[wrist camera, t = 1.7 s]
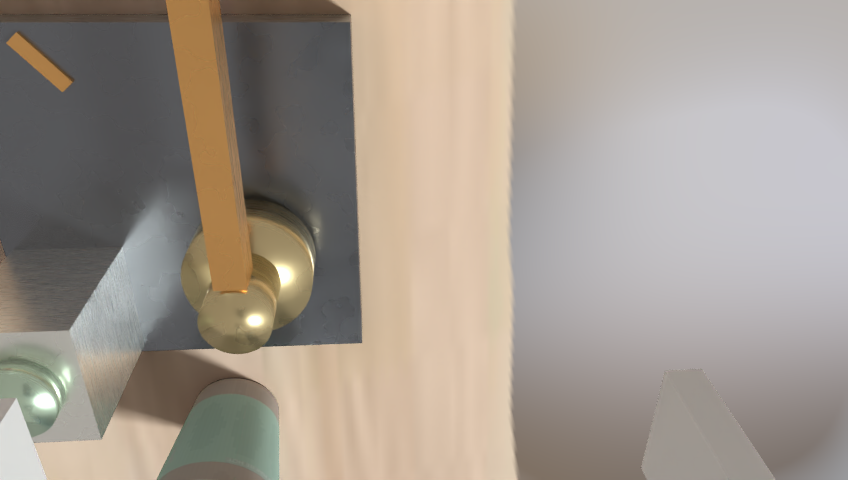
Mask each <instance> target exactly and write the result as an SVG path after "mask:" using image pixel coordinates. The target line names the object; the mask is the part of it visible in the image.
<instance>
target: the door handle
mask: <svg viewBox="0 0 848 480" xmlns="http://www.w3.org/2000/svg"><path fill="white" fill-rule="evenodd" d="M166 6H167V12H168V18H169V24H170V31H171V37H172V43H173V49H174V55H175V61H176V67H177V73H178V80H179V86H180V92H181V98H182V104H183V110H184V116H185V123H186V129H187V135H188V141H189V147H190V153H191V159H192V165H193V172H194V178H195V184H196V190H197V196H198V202H199V208H200V215H201V221H202V222H201V223H200V225H199V227H198V228H197V230H196V233H195V235H194V237H193V239H192V241H191V243H190V246H189V248H188V250H187V252H186V254H185V257H184V259H183V262H182V266H181V284H182V287H183V291H184V293H185V295H186V298H187V299H188V301H189V302H190V304H191V305H192V306H193V308H194V309H195V310H196V311H197V312H198V313H199V315H198V320H197V324H198V329H199V332H200V334H201V336H202V337H203V338H204V340H205V341H206V342H207V343H208V344H210V345H211V346H212V347H214V348H216V349H218V350H220V351H223V352H226V353H232V354H244V353H249V352H252V351H255V350H257V349H259V348H260V347H262V346H263V345H264V344H265V343H266V342H267V341H268V339H269V338H270V336H271V333H272V330H275V329H278V328H280V327H282V326H285V325H286V324H288V323H290V322H291V321H293V320H294V319H295V318H296V317H297V316H298V315H299V314H300V313H301V312H302V311H303V309H304V308H305V307H306V305H307V303H308V301H309V299H310V296H311V292H312V285H313V277H314V268H315V260H316V251H315V245H314V241H313V238H312V236H311V234H310V232H309V230H308V229H307V227H306V226H305V225H304V223H303V222H302V221H301V220H300V219H299V218H298V217H297V216H296V215H294V214H293V213H292V212H290V211H289V210H287V209H285V208H283V207H282V206H279V205H277V204H274V203H271V202H267V201H263V200H254V199H246V200H244V192H243V184H242V176H241V169H240V161H239V153H238V145H237V137H236V129H235V121H234V113H233V105H232V97H231V89H230V81H229V74H228V66H227V58H226V50H225V42H224V34H223V26H222V18H221V10H220V2H219V0H166Z"/></svg>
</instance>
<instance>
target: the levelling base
mask: <svg viewBox="0 0 848 480" xmlns="http://www.w3.org/2000/svg"><path fill="white" fill-rule="evenodd" d="M221 18H222V26H223V34H224V42H225V50H226V58H227V66H228V74H229V81H230V89H231V97H232V105H233V113H234V121H235V129H236V137H237V145H238V153H239V161H240V169H241V176H242V184H243V192H244V200H246V199H254V200H263V201H267V202H271V203H274V204H277V205H279V206H282V207H283V208H285V209H287V210H289V211H290V212H292V213H293V214H294V215H296V216H297V217H298V218H299V219H300V220H301V221H302V222H303V223H304V225H305V226H306V227H307V229H308V230H309V232H310V234H311V236H312V238H313V241H314V245H315V251H316V260H315V268H314V277H313V285H312V292H311V296H310V299H309V301H308V303H307V305H306V307H305V308H304V309H303V311H302V312H301V313H300V314H299V315H298V316H297V317H296V318H295V319H294V320H293V321H291V322H290V323H288V324H286V325H285V326H282V327H280V328H278V329H275V330H272V333H271V336H270V338H269V339H268V341H267V342H266V343H265V344H264V345H263V346H262V347H267V346H294V345H321V344H348V343H362V310H361V283H360V255H359V228H358V200H357V173H356V145H355V118H354V91H353V63H352V36H351V15H221ZM201 222H202V221H201V215H200V208H199V202H198V196H197V190H196V184H195V178H194V172H193V165H192V159H191V153H190V147H189V141H188V135H187V129H186V123H185V116H184V110H183V104H182V98H181V92H180V86H179V80H178V73H177V67H176V61H175V55H174V49H173V43H172V37H171V31H170V24H169V18H168V15H0V240H1V243H2V246H3V249H4V252H5V255H6V258H5V259H4V260H3V261H2V262H1V264H0V399H2V398H17V400H18V403H19V406H20V408H21V411H22V414H23V416H24V419H25V422H26V424H27V427H28V430H29V432H30V435H31V438H32V441H33V443H40V442H61V441H82V440H101V439H102V437H103V435H104V433H105V431H106V428H107V426H108V424H109V422H110V420H111V417H112V415H113V413H114V411H115V409H116V406H117V404H118V402H119V400H120V398H121V396H122V393H123V391H124V389H125V387H126V385H127V382H128V380H129V378H130V376H131V374H132V372H133V369H134V367H135V365H136V363H137V361H138V358H139V356H140V354H141V352H142V351H160V350H187V349H214V347H212V346H211V345H210V344H208V343H207V342H206V341H205V340H204V338H203V337H202V336H201V334H200V332H199V329H198V324H197V320H198V315H199V313H198V312H197V311H196V310H195V309H194V308H193V306H192V305H191V304H190V302H189V301H188V299H187V298H186V295H185V293H184V291H183V287H182V284H181V266H182V262H183V259H184V257H185V254H186V252H187V250H188V248H189V246H190V243H191V241H192V239H193V237H194V235H195V233H196V230H197V228H198V227H199V225H200V223H201Z"/></svg>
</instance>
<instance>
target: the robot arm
mask: <svg viewBox="0 0 848 480" xmlns="http://www.w3.org/2000/svg"><path fill="white" fill-rule="evenodd" d="M641 468H642V470H643V472H644V475H645V477H646V479H647V480H776V479H775V478H774V476H773V475H772V473H771V472H770V471H769V469H768V467H767V466H766V464H765V463H764V461H763V460H762V459H761V457H760V456H759V454H758V453H757V451H756V450H755V448H754V447H753V445H752V444H751V442H750V441H749V439H748V438H747V436H746V435H745V433H744V432H743V430H742V429H741V427H740V426H739V424H738V423H737V421H736V420H735V418H734V417H733V415H732V414H731V412H730V411H729V409H728V408H727V406H726V405H725V403H724V402H723V400H722V399H721V397H720V396H719V394H718V393H717V391H716V390H715V388H714V387H713V385H712V384H711V382H710V381H709V379H708V378H707V376H706V375H705V373H704V372H703V370H702V369H690V370H666V371H665V373H664V377H663V380H662V385H661V389H660V393H659V397H658V401H657V405H656V409H655V413H654V417H653V421H652V426H651V430H650V434H649V438H648V442H647V446H646V451H645V454H644V458H643V463H642V467H641ZM0 480H47V478H46V475H45V473H44V470H43V467H42V465H41V462H40V459H39V457H38V454H37V451H36V449H35V446H34V443H33V441H32V438H31V435H30V432H29V430H28V427H27V424H26V422H25V419H24V416H23V414H22V411H21V408H20V406H19V403H18V400H17V398H2V399H0Z"/></svg>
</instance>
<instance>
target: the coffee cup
mask: <svg viewBox="0 0 848 480" xmlns="http://www.w3.org/2000/svg"><path fill="white" fill-rule="evenodd" d="M157 480H279V407H278V403H277V401H276V399H275V397H274V396H273V394H272V393H271V392H270V391H269V390H268V389H266V388H265V387H263V386H262V385H260V384H258V383H256V382H253V381H250V380H246V379H239V378H230V379H223V380H219V381H216V382H214V383H212V384H210V385H208V386H207V387H206V388H204V389H203V390H202V391H201V392H200V394H199V395H198V397H197V399H196V401H195V403H194V405H193V407H192V409H191V411H190V413H189V415H188V417H187V419H186V421H185V423H184V425H183V427H182V429H181V431H180V433H179V435H178V437H177V439H176V441H175V443H174V445H173V447H172V449H171V451H170V453H169V456H168V458H167V460H166V462H165V464H164V466H163V468H162V470H161V472H160V474H159V476H158V478H157Z"/></svg>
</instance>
